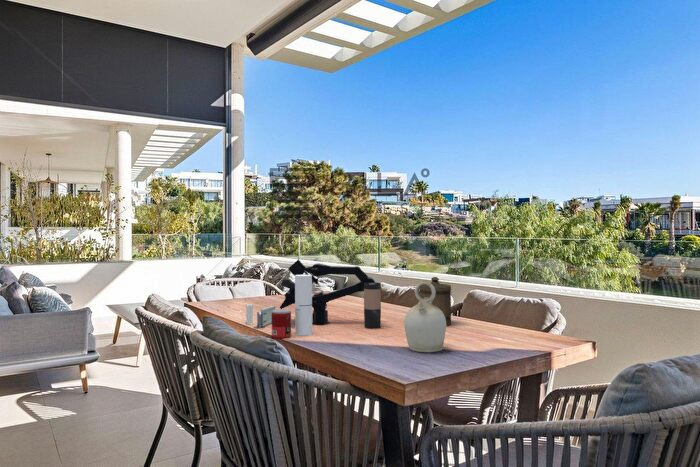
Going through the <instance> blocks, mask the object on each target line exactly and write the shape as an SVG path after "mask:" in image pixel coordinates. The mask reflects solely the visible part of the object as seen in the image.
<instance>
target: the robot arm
mask: <svg viewBox="0 0 700 467" xmlns="http://www.w3.org/2000/svg"><path fill="white" fill-rule="evenodd" d="M287 271H289V272H290V273H291V274H292V275H293V276H294V277H295V275H312V285H313V284H316V285H318V284H319V278H318V277H322V276H323V277H324V276H328V275H347V276H348V275H354V276H355V277H356V278H357V279H358V280H359V281H358V282H356V283H355V284H351V285H348V286H346V287H342V288H339V289H336V290H333V291H330V292H325V293H324V290H322V291H319V292H315V293H314V294H312V325H321V326H324V325H326V324H329V323H330V321H329V318H328V317H329V315H328V314H329V313H328V312H329V311H328V310H327V307H328V303H329V302H331V301H334V300H338V299H340V298H343V297H346V296H349V295H352V294H355V293H361V292H363V293H364V283H369V282H376V280H375V279H374V278H373V277H372V276H371V277H370V276H369V275H367V273H366V272H365V271H363V270H362V269H361V267H360V266H357V265H356V266H349V265H348V266H346V265H345V266H344V265H343V266H340V265H337V266H336V265H327V264H324V263H317V262H316V263H315V264H312V266H307V267H306V265H304V264H303V263H302V261H301V260H300V259H297V260H296V261H295V262H293V264H291V265H290V266H289V267H288V269H287ZM316 277H317V278H316ZM280 286H281V287H285V288H287V289H288V291H287V292H286V293H285V294H284V300H283V301H282V303H281V304H280V307H279V309H286V308H287V307H289V306H292V305H295V281H291V280H290V279H288V278H283V279H282V281H281V284H280Z"/></svg>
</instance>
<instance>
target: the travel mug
mask: <svg viewBox="0 0 700 467" xmlns="http://www.w3.org/2000/svg"><path fill="white" fill-rule="evenodd" d="M381 286H382V285H381V282H376V281H375V282H369V283H364V291H363V316H364V317H363V318H364V320H363V321H364V328H365V329H368V330H369V329H370V330H377V329H380V328H381V323H382V322H381V321H382V320H381V319H382V318H381V317H382V303H381V302H382V299H381V298H382V297H381V296H382V295H381V291H382V290H381V289H382V288H381Z"/></svg>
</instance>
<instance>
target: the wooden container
mask: <svg viewBox="0 0 700 467" xmlns="http://www.w3.org/2000/svg"><path fill="white" fill-rule="evenodd" d="M439 281H440V279H439V278H438V276H433V277H431V282H430V283H431V284H432V285H433V286H434V288H435V292H436V294H435V297H434V299H433V301H432V303H431V304H432V305H434V306H436V307H438V308H439V309H440V310H441V311H442V312H443V314H444V316H445V319H446V327H449V326H451V325H452V302H451V301H452V299H451V298H452V297H451V296H452V295H451V293H452V286H451V285H450V284H448V283H447V284H444V283H441V282H439ZM431 294H432V292H431V289H430V288H429V287H428V286H427V285H423V286H421V287H420V289H419V295H420V296H421V297H422V298H426V297H428V298H430V296H431Z"/></svg>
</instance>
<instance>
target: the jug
mask: <svg viewBox="0 0 700 467" xmlns="http://www.w3.org/2000/svg"><path fill="white" fill-rule="evenodd" d="M423 285H427V286H428V287H429V288H430V289H431V292H432V294H431V296H430V298H428V297H426V298H422V297H421V296H420V295H419V291H420V290H419V289H420V287H421V286H423ZM435 294H436V292H435V288H434V286H433V285H432V284H431V282H430V281H426V280H423V281H421V282H419V283H418V284H416V286H415V288H414V295H415V298H416V299H417V300H418V303H417V304H415V305H414V306H412V307H411V308H410V309H408V310H407V312H406V313H405V317H404V321H403V324H404V325H403V326H404V327H403V328H404V332H405V337H406V342H407V345H408V349H409V350H410V351H413V352H417V353H425V354H426V353H427V354H428V353H438V352H440V351H442V350H443V346H444V343H445V338H446V331H447V326H446V319H445V316H444V314H443V312H442V311H441V310H440V309H439V308H438V307H436V306H434V305H432V304H431V303H432V301H433V299H434V297H435Z"/></svg>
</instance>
